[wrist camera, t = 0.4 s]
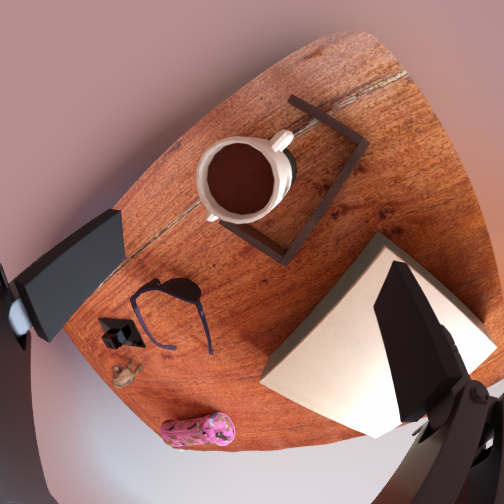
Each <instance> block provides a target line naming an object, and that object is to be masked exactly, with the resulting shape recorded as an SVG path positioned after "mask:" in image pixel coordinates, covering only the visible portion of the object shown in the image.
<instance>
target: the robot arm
mask: <svg viewBox="0 0 504 504" xmlns="http://www.w3.org/2000/svg"><path fill="white" fill-rule="evenodd" d="M125 259H126V257H125V248H124V239H123V228H122V216H121V211H120V210H114V209H109V210H107V211H105V212H104V213H102V214H101V215H99V216H97V217H96V218H94V219H93V220H91V221H90V222H89V223H87V224H86V225H84V226H83V227H81V228H80V229H78V230H77V231H76V232H74V233H73V234H71V235H70V236H68V237H67V238H66V239H64V240H63V241H62V242H60V243H59V244H58V245H56V246H55V247H54V248H52V249H51V250H50V251H48V252H47V253H45V254H44V255H42V256H41V257H40V258H38V259H37V261H35V262H34V263H32V264H31V266H29V267H27V268H26V269H25V270H24V271H23V272H21V273H20V274H19V275H18V276H17V277H16V278H14V279H13V280H12V281H11V282H10V283H9V284H8V281H7V278H6V275H5V273H4V270H3V267H2V265H1V263H0V504H58V502H57V501H56V500H55V499H54V497H53V496H52V495H51V494H50V492H49V490H48V488H47V484H46V481H45V477H44V473H43V469H42V465H41V460H40V456H39V451H38V446H37V440H36V433H35V427H34V418H33V409H32V396H31V371H30V369H31V368H30V367H31V365H30V364H31V362H30V361H31V333H30V331H29V329H30V328H31V327H32V326H33V327H34V329H35V331H36V333H37V335H38V336H39V337H40V338H42V339H44V340H46V341H47V342H49V343H50V342H51V341H52V339H53V338H54V337H55V336H56V334H57V333H58V332H59V331H60V330H61V328H62V327H63V326H64V325H65V324H66V322H67V321H68V320H69V319H70V318H71V317H72V315H73V314H74V313H75V312H76V311H77V310H78V309H79V307H80V306H81V305H82V304H83V303H84V302H85V301H86V300H87V299H88V297H89V296H90V295H91V294H92V293H93V292H94V291H95V290H96V289H97V288H98V287H99V286H100V284H101V283H102V282H103V281H104V280H105V279H106V278H107V277H108V276H109V275H110V274H111V273H112V272H113V271H114V270H115V269H116V268H117V267H118V266H119V265H120V264H121V263H122V262H123V261H124V260H125ZM373 308H374V312H375V315H376V318H377V322H378V325H379V329H380V332H381V336H382V340H383V344H384V347H385V351H386V355H387V359H388V363H389V368H390V372H391V376H392V381H393V385H394V390H395V395H396V400H397V405H398V411H399V417H400V422H401V423H406V422H417V421H418V420H419V419H421V418H422V417H423V416H424V415H425V414H426V413H427V416H428V421H427V422H426V423H424V424H423V425H422V426H421V427H420V428H418V429H417V430H416V431H415V432H414V433H413V434H412V435H413V436H414V435H416V434H417V433H418V432H419V434H418V436H417V438H416V439H415V441H414V443H413V444H412V446H411V448H410V450H409V451H408V453H407V455H406V456H405V458H404V459H403V461H402V462H401V464H400V465H399V467H398V468H397V470H396V471H395V473H394V474H393V476H392V477H391V479H390V480H389V481H388V483H387V484H386V486H385V487H384V488H383V489H382V491H381V492H380V493H379V495H378V496H377V497H376V499H375V500H374V501H373V502H372V503H371V504H504V393H503V394H502V395H501V396H500V397H499V398H496V397H492V396H489V393H488V391H487V389H486V387H485V386H484V385H483V384H482V383H481V382H479V381H477V380H471V378H470V375H469V373H468V371H467V368H466V366H465V363H464V361H463V359H462V356H461V354H460V353H459V350H458V348H457V345H455V341H454V339H453V337H452V335H451V333H450V332H449V331H448V330H447V328H446V327H445V326H444V325H442V324H440V322H439V320H438V318H437V316H436V314H435V313H434V311H433V309H432V307H431V305H430V303H429V301H428V299H427V297H426V296H425V294H424V292H423V290H422V288H421V287H420V285H419V283H418V281H417V280H416V278H415V276H414V274H413V273H412V271H411V269H410V268H409V266H408V264H407V263H404V262H399V261H395V260H393V262H392V264H391V267H390V269H389V272H388V274H387V276H386V279H385V281H384V283H383V286H382V288H381V290H380V292H379V295H378V297H377V299H376V301H375V303H374V305H373ZM491 439H493V445H492V446H491V447H489V448H488V449H486V443H487V442H489V441H490V440H491Z"/></svg>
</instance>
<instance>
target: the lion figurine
mask: <svg viewBox="0 0 504 504" xmlns="http://www.w3.org/2000/svg"><path fill="white" fill-rule="evenodd" d="M129 360H130V362H129V363H128V364H127V365H125V366H124V367H122V368H121V367H120V365H118V366H114V367H112V368H113V378H112V382H111V383H112V385H113V387H114V388H116V389H120V388H122V387H125V386H128V385H130V384H131V383H132V382H133V380H134V379H135V377H136V376H137V374H138V372H139V371H140V370H142V369H143V368H142V366H140V365H139V366H137V368H136V370H135V371H133V370H132V369H131V368H130V366H132V365H133V363H134V361H133V360H132V359H129Z"/></svg>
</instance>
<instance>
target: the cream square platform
mask: <svg viewBox="0 0 504 504" xmlns="http://www.w3.org/2000/svg"><path fill="white" fill-rule="evenodd" d="M393 260H395V261H399V262H404V263H407V264H408V266H409V268H410V269H411V271H412V273H413V274H414V276H415V278H416V280H417V281H418V283H419V285H420V287H421V288H422V290H423V292H424V294H425V296H426V297H427V299H428V301H429V303H430V305H431V307H432V309H433V311H434V313H435V314H436V316H437V318H438V320H439V322H440V324H442V325H444V326H445V327H446V328H447V330H448V331H449V332H450V333H451V335H452V337H453V339H454V341H455V345H457V348H458V350H459V353H460V354H461V356H462V359H463V361H464V363H465V366H466V368H467V371H468V373H469V374H470V373H471V372H472V371H473V370H474V369H475V368H476V367H477V366H479V365H480V364H481V363H482V362H483V361H484V360H485V359H486V358H487V357H488V356H489V355H490V354H491V353H492V352H493V351H494V350H495V349H496V348H497V346H496V345H495V343H494V341H493V339H492V337H491V336H490V334H489V332H488V330H487V329H486V327H485V325H484V324H483V323H482V322H481V321H480V320H479V319H478V318H477V317H476V316H475V315H474V314H473V313H472V312H471V311H470V310H469V309H468V308H467V307H466V306H465V305H464V304H463V303H462V302H461V301H460V300H459V299H458V298H457V297H456V296H455V295H454V294H453V293H452V292H451V291H449V290H448V289H447V288H446V287H445V286H444V285H443V284H442V283H441V282H440V281H439V280H437V279H436V278H435V277H434V276H433V275H432V274H431V273H429V272H428V271H427V270H426V269H425V268H424V267H423V266H421V265H420V264H419V263H418V262H417V261H415V260H414V259H413V258H412V257H411V256H409V255H408V254H407V253H406V252H405V251H403V250H402V249H401V248H400V247H398V246H397V245H396V244H395V243H393V242H392V241H391V240H390V239H388V238H387V237H386V236H385V235H383V234H382V233H381V232H379V231H377V232H376V234H375V235H374V236H373V238H372V239H371V240H370V241H369V243H368V244H367V245H366V247H365V248H364V249H363V251H362V252H361V253H360V254H359V256H358V257H357V258H356V259H355V261H354V262H353V263H352V264H351V266H350V267H349V268H348V269H347V271H346V272H345V273H344V274H343V275H342V277H341V278H340V279H339V280H338V281H337V283H336V284H335V285H334V286H333V287H332V289H331V290H330V291H329V292H328V293H327V294H326V296H325V297H324V298H323V299H322V300H321V301H320V302H319V304H318V305H317V306H316V307H315V308H314V309H313V310H312V312H311V313H310V314H309V315H308V316H307V317H306V318H305V319H304V320H303V321H302V323H301V324H300V325H299V326H298V327H297V328H296V329H295V330H294V331H293V332H292V333H291V334H290V336H289V337H288V338H287V339H286V340H285V341H284V342H283V343H282V344H281V345H280V346H279V347H278V348H277V349H276V350H275V351H274V352H273V353H272V354H271V355H270V356H269V357H268V360H267V362H266V365H265V368H264V370H263V373H262V375H261V378H260V381H259V383H261V384H262V385H264V386H266V387H268V388H270V389H271V390H273V391H275V392H277V393H279V394H281V395H282V396H284V397H286V398H288V399H290V400H292V401H294V402H296V403H298V404H300V405H302V406H304V407H306V408H308V409H310V410H312V411H314V412H316V413H318V414H321V415H323V416H325V417H327V418H329V419H331V420H334V421H336V422H338V423H341V424H343V425H345V426H348V427H350V428H352V429H355V430H357V431H360V432H362V433H365V434H367V435H370V436H373V437H375V438H376V437H378V436H380V435H381V434H384V433H385V432H387V431H389V430H391V429H393V428H394V427H396V426H398V425H399V424H401V422H400V417H399V411H398V405H397V400H396V395H395V390H394V385H393V381H392V376H391V372H390V368H389V363H388V359H387V355H386V351H385V347H384V344H383V340H382V336H381V332H380V329H379V325H378V322H377V318H376V315H375V312H374V308H373V305H374V303H375V301H376V299H377V297H378V295H379V292H380V290H381V288H382V286H383V283H384V281H385V279H386V276H387V274H388V272H389V269H390V267H391V264H392V262H393Z"/></svg>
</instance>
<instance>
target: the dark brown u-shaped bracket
mask: <svg viewBox="0 0 504 504" xmlns="http://www.w3.org/2000/svg"><path fill="white" fill-rule="evenodd" d="M288 103H289V104H291V105H292V106H294V107H296V108H297V109H299V110H301V111H303V112H305V113H306V114H308V115H310V116H311V117H313V118H315V119H317V120H318V121H320V122H322V123H323V124H325V125H327V126H328V127H330V128H331V129H333V130H335V131H336V132H338V133H339V134H341V135H342V136H344V137H345V138H347V139H348V140H350V141H351V142H353V143H354V144H356V147H355V148H354V150H353V151H352V153H351V154H350V156H349V158H348V159H347V161H346V162H345V164H344V165H343V167H342V168H341V170H340V171H339V173H338V174H337V176H336V178H335V179H334V181H333V182H332V184H331V185H330V187H329V188H328V190H327V191H326V193H325V194H324V196H323V197H322V199H321V200H320V202H319V203H318V205H317V206H316V208H315V209H314V211H313V212H312V214H311V215H310V217H309V218H308V220H307V221H306V223H305V224H304V225H303V227H302V228H301V230H300V231H299V233H298V234H297V236H296V237H295V239H294V240H293V242H292V243H291V244H290V246H289V247H288V249H287V250H286V249H285V248H283V247H281V246H280V245H278V244H277V243H275V242H274V241H272V240H271V239H269V238H268V237H266V236H265V235H263V234H262V233H260V232H259V231H257V230H256V229H254V228H252V227H251V226H249V225H248V224H246V223H243V224H235V223H231V222H227V221H223V220H220V222H219V224H221V225H222V226H224V227H225V228H227V229H228V230H230V231H231V232H233V233H235V234H236V235H238V236H239V237H241V238H242V239H244V240H245V241H247V242H248V243H250V244H251V245H253V246H254V247H256V248H257V249H259V250H260V251H262V252H263V253H265V254H267V255H268V256H270V257H271V258H273V259H274V260H276V261H277V262H279V263H280V264H281V265H283V266H285V267H287V265H288V264H289V262H290V261H291V260H292V258H293V257H294V255H295V254H296V253H297V251H298V250H299V248H300V247H301V246H302V244H303V243H304V241H305V240H306V238H307V237H308V236H309V234H310V233H311V231H312V230H313V228H314V227H315V226H316V224H317V223H318V221H319V220H320V218H321V217H322V215H323V214H324V213H325V211H326V210H327V208H328V207H329V205H330V204H331V202H332V201H333V199H334V198H335V196H336V195H337V193H338V192H339V190H340V189H341V187H342V186H343V184H344V183H345V181H346V180H347V178H348V177H349V175H350V174H351V172H352V171H353V169H354V168H355V166H356V165H357V163H358V162H359V160H360V159H361V157H362V156H363V154H364V152H365V151H366V149H367V148H368V146H369V145H370V142H369V141H367V140H366V139H365V138H363V137H362V136H360V135H359V134H357V133H356V132H354V131H353V130H351V129H350V128H348V127H347V126H345V125H344V124H342V123H340V122H339V121H337V120H336V119H334V118H332V117H331V116H329V115H327V114H326V113H324V112H322V111H321V110H319V109H317V108H316V107H314V106H312V105H310V104H308V103H307V102H305V101H303V100H301V99H299V98H297V97H296V96H294V95H291V96H290V98H289V100H288Z"/></svg>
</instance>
